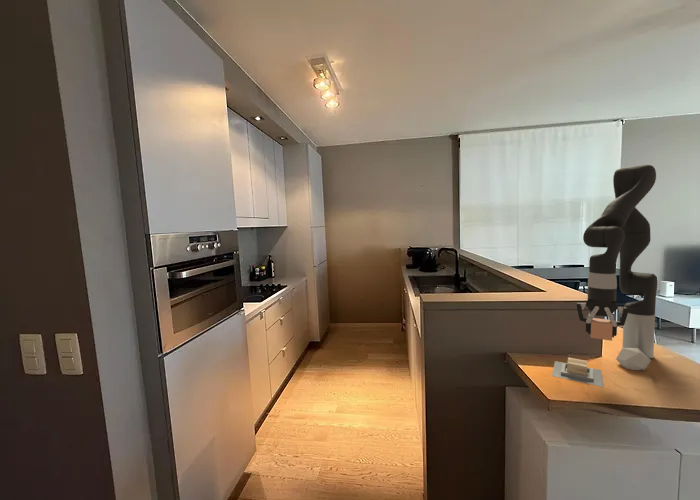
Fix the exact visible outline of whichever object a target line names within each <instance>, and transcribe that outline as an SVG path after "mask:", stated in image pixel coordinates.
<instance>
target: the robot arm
mask: <svg viewBox="0 0 700 500" xmlns="http://www.w3.org/2000/svg"><path fill="white" fill-rule="evenodd" d="M656 180H657V171H656V169H655V167H654V166H653V165H652V164H643V165H641V164H640V165H633V166H632V165H631V166H625V167H619V168H617V169H616V170H615V171H614V174H613V179H612V181H613V182H612V183H613V191H614V197H615V199H613V200H612V201H610V202H609V203H608V205H606V207H605V209H604V210H603V212H602V213H601V215H600V217H598V218H597V219H596V220H594V221H593V222H592V223H591V224H590V225H589V226H588V227H587V228H586V229H585V231H584V233H583V237H582V239H583V242H584V244H585V245H586V246H587V247H590V248H604V249H605V248H607V249H606V250H605V252H603V253H601V254H600V253H599V254H597V253H596V254H592V255H591V256H590V257H589V266H588V270H589V271H588V272H589V273H588V276H587V277H588V278H587V300H586V302H576V310H577V314H578V319H579V321H581V322H584V323H585V332H586V333H588V335H590V334H591V320H592V319H593V318H595V316H597V317H599V316H600V317H605V318H608V320H610V321H611V323H612V324H613V329H612V339H613V338H615V337H616V336H617V335H618V333H617V331H618V327H621V326H622V347H621V349H622V348H638V349H639V350H640V351H642V352H643V353H644V354H645V355H646V356H647V357H648V358H649V359H650V360H651V359H654V348H655V328H656V327H655V326H656V325H655V324H656V299H657V292H658V278H657V277H658V276H656V274H654V273H650V272H636V271H632V266H633V264H634V263H635V261H636V260H637V259H638V258H639V256H640V255H641V254H642V253H643V252H644V251H645V250H646V249H647V247H648V246H649V245H650V243H651V237H652V236H651V224H650V222H649V220H648V219H647V218H646V217H645V216H644V214H642V213H641V212H640V211H639V210H638V209H637V207H636V206H637V205H638V204H639V203H640V202H641V201H642V200H643V199H644V198H645V197H646V196H647V194H648V193H650V191H651V190H652V188H653V186H655V183H656ZM618 257H619V277H617V261H618ZM618 278H619V279H618ZM617 279H618V280H619V282H618V280H617ZM618 285H619V286H618ZM617 287H619V290H620V292H621V293H622V294H624V295H631V296H636V297H639V296H640V297H643V299H641V300H639V301H633V302H626V303H625V304H624V305H623V306H620V305H618V304H617V290H618V289H617ZM585 307H586V308H587V309H588V310H589V313H588V315H587V316H586V317H584V313H583V310H584V309H585ZM617 310H618V313H620V317H619V319H618V320H616V319H615V318H614V316H613V313H615V312H616V311H617Z"/></svg>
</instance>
